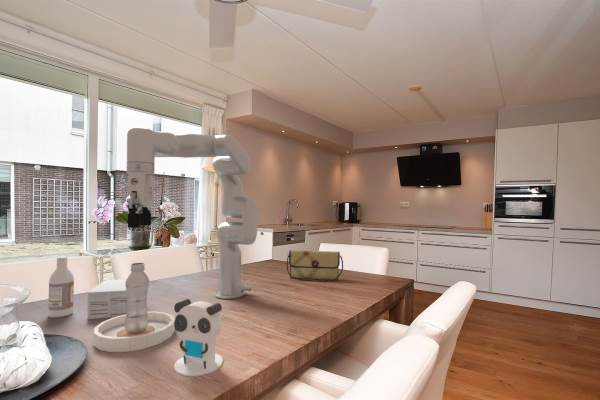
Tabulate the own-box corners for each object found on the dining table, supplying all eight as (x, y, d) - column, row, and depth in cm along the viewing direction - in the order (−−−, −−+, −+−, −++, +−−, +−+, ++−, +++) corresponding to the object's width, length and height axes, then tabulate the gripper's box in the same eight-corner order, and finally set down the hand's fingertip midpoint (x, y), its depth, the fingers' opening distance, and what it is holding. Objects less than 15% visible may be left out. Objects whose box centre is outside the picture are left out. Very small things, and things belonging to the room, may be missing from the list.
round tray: (181, 321, 106) (181, 310, 106) (163, 349, 85) (163, 336, 85) (113, 323, 103) (114, 312, 103) (78, 353, 82) (78, 340, 82)
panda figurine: (161, 369, 75) (162, 306, 75) (193, 349, 86) (194, 293, 86) (203, 380, 71) (204, 313, 71) (231, 357, 82) (232, 299, 82)
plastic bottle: (123, 337, 90) (125, 266, 90) (124, 329, 96) (125, 262, 96) (148, 333, 93) (150, 265, 93) (148, 325, 99) (149, 261, 99)
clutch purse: (285, 280, 165) (285, 251, 165) (287, 277, 172) (287, 249, 172) (343, 282, 162) (343, 253, 162) (342, 279, 169) (343, 251, 169)
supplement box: (103, 304, 123) (103, 280, 123) (140, 302, 127) (140, 278, 127) (86, 319, 107) (86, 291, 107) (129, 316, 110) (130, 289, 110)
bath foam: (70, 316, 109) (72, 258, 109) (45, 319, 106) (47, 259, 106) (74, 310, 115) (76, 255, 116) (51, 312, 112) (52, 256, 112)
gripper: (144, 166, 88) (143, 228, 88) (162, 172, 105) (161, 224, 105) (115, 166, 87) (114, 228, 87) (137, 171, 104) (137, 224, 104)
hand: (139, 226), depth 96 cm, fingers open, 9 cm apart
